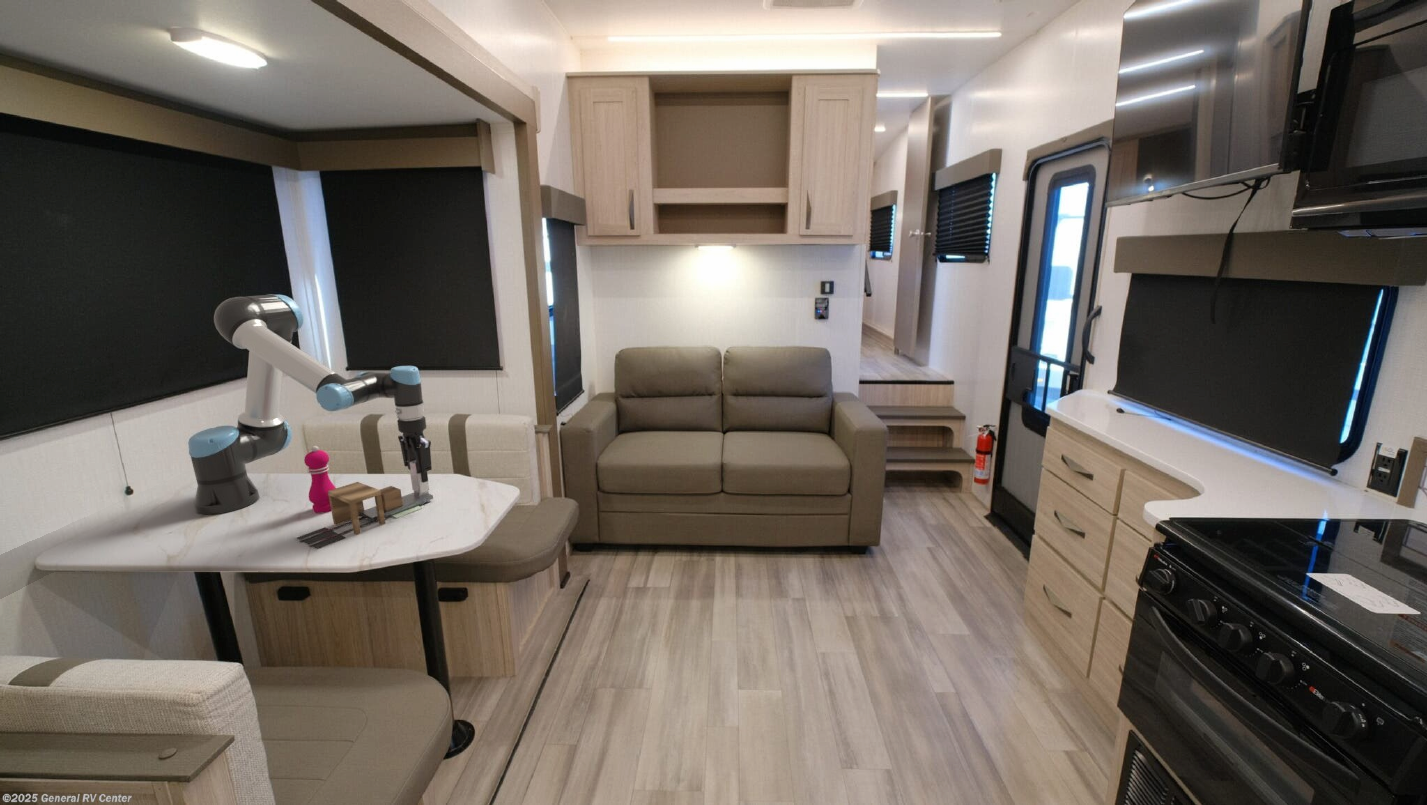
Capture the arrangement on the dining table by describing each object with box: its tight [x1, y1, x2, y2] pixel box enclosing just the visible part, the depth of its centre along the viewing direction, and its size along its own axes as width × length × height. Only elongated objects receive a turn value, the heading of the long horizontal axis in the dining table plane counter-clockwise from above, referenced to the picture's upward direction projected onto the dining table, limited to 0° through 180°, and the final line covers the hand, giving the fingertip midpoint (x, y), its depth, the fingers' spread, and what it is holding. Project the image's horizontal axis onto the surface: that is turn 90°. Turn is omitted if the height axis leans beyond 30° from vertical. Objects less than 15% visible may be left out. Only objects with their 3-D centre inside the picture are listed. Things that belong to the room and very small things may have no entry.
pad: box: [391, 505, 423, 519], centre depth 172 cm, size 11×8×1 cm
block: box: [379, 485, 403, 511], centre depth 168 cm, size 5×5×5 cm
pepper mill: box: [303, 445, 336, 514], centre depth 169 cm, size 7×7×20 cm
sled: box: [359, 460, 434, 522], centre depth 170 cm, size 7×18×12 cm, turn 149°
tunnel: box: [328, 481, 386, 536], centre depth 161 cm, size 12×8×10 cm, turn 59°
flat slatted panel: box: [296, 526, 347, 550], centre depth 154 cm, size 11×7×1 cm, turn 59°
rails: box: [298, 502, 426, 548], centre depth 164 cm, size 6×32×1 cm, turn 149°
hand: (420, 489), depth 177 cm, fingers closed on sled, 3 cm apart
